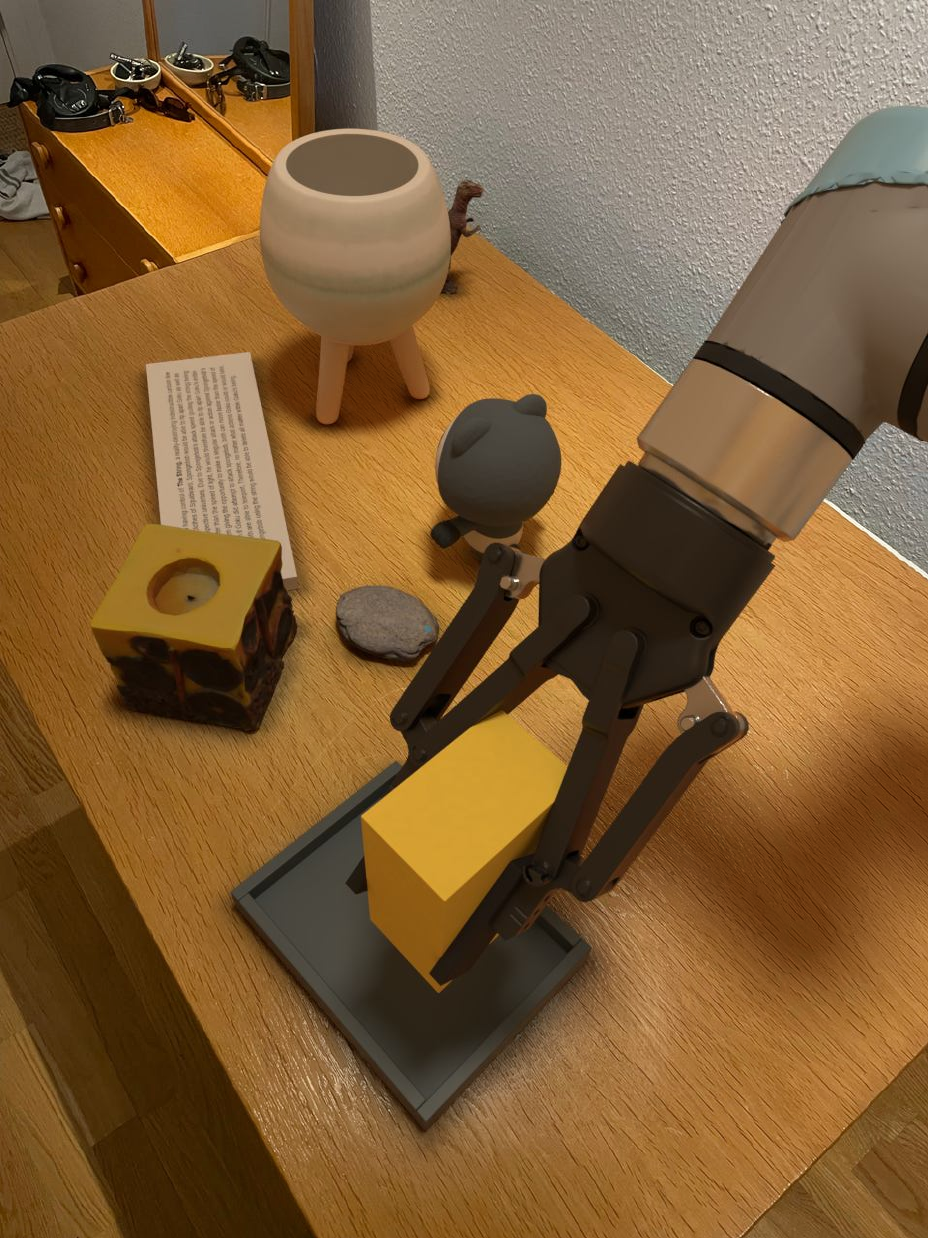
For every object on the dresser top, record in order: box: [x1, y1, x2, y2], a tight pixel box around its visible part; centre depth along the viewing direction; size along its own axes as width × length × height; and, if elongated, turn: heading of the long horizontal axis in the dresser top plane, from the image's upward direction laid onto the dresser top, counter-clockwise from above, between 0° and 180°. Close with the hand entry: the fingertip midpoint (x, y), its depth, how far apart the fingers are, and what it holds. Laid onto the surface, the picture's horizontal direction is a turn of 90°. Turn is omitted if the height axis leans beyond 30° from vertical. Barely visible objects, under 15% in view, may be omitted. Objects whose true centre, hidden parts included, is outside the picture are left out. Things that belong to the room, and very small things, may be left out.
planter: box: [259, 128, 451, 425], centre depth 84 cm, size 16×16×22 cm
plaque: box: [145, 351, 300, 592], centre depth 84 cm, size 30×2×10 cm
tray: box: [230, 760, 593, 1132], centre depth 58 cm, size 18×14×2 cm
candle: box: [90, 522, 298, 732], centre depth 67 cm, size 10×10×10 cm
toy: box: [429, 393, 562, 562], centre depth 74 cm, size 12×10×15 cm
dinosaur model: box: [441, 179, 485, 295], centre depth 100 cm, size 4×12×15 cm
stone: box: [335, 584, 440, 663], centre depth 73 cm, size 7×8×2 cm
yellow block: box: [361, 710, 568, 993], centre depth 44 cm, size 5×8×11 cm, turn 134°
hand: (407, 926), depth 44 cm, fingers closed on yellow block, 5 cm apart
